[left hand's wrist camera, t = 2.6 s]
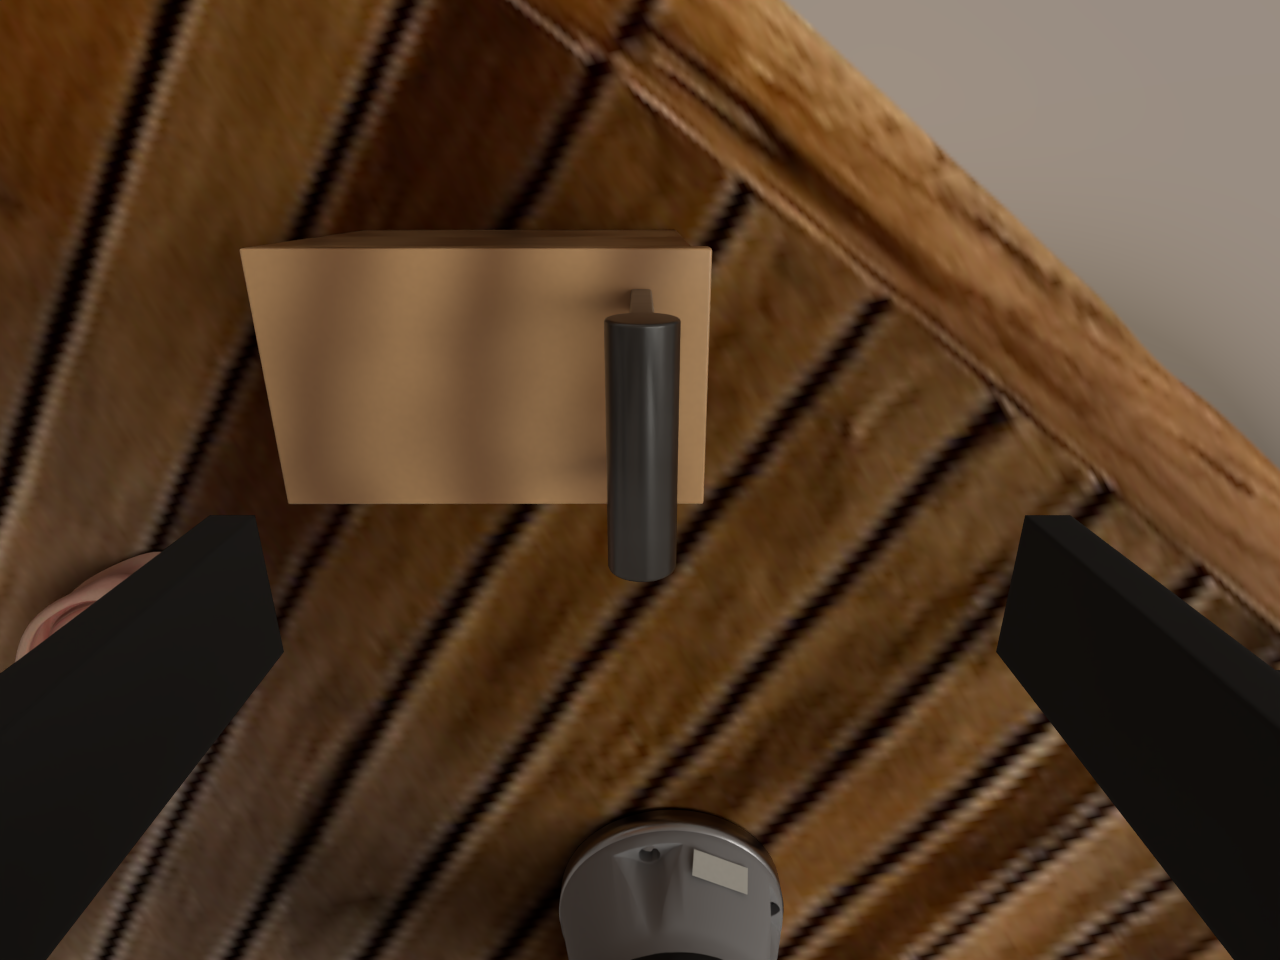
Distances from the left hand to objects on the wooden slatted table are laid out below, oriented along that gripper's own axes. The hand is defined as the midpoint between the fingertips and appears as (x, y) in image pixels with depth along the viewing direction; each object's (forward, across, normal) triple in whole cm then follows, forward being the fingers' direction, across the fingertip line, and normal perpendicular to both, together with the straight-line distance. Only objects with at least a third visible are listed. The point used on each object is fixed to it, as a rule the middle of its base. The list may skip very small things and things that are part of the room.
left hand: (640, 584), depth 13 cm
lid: (+15, +5, 0) cm, 16 cm away
